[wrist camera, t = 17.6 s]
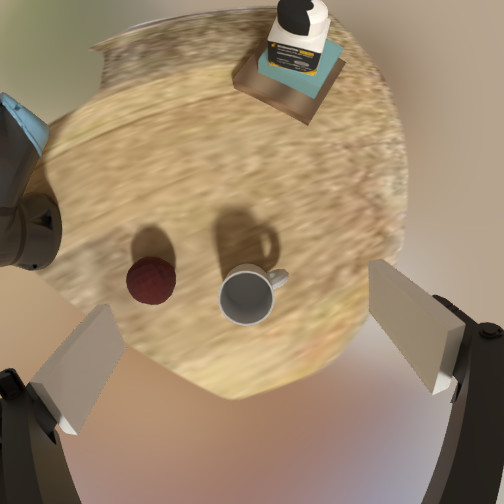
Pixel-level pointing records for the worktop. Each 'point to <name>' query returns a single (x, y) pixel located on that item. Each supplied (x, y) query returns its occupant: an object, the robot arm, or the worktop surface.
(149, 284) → the dark red textured ball
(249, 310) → the cup
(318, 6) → the medicine bottle
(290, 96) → the tower base slab
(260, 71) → the tower top block
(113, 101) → the worktop surface
